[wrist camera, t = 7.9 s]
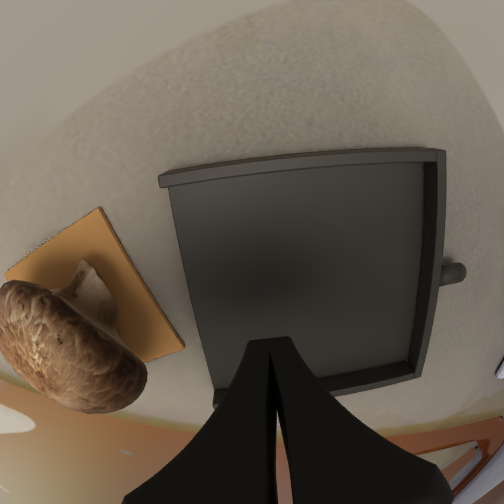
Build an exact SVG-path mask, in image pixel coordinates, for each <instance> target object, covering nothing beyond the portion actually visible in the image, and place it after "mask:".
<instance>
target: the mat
mask: <svg viewBox="0 0 504 504" xmlns="http://www.w3.org/2000/svg"><path fill="white" fill-rule="evenodd" d="M81 258H84V259H85V260H87V261H88V262H89V263H90V264H91V265H92V266H93V267H94V268H95V269H96V271H97V272H98V274H99V275H100V276H101V278H102V279H103V280H104V282H105V284H106V285H107V287H108V288H109V290H110V291H111V293H112V295H113V298H114V300H115V303H116V305H117V309H118V316H117V319H116V322H115V325H116V330H117V332H118V335H119V336H120V338H121V340H122V341H123V343H124V344H125V345H126V346H127V347H128V348H129V349H130V350H131V351H132V352H133V353H134V354H135V355H136V356H137V357H138V358H139V359H140V360H141V361H142V362H147V361H150V360H153V359H156V358H159V357H162V356H165V355H168V354H170V353H173V352H176V351H179V350H182V349H184V348H185V345H184V343H183V342H182V340H181V339H180V337H179V336H178V334H177V333H176V332H175V330H174V329H173V327H172V326H171V324H170V323H169V321H168V320H167V318H166V317H165V315H164V314H163V312H162V311H161V309H160V307H159V306H158V304H157V303H156V301H155V300H154V298H153V297H152V295H151V293H150V292H149V290H148V289H147V287H146V285H145V284H144V282H143V281H142V279H141V277H140V276H139V274H138V272H137V271H136V269H135V267H134V266H133V264H132V262H131V261H130V259H129V257H128V255H127V254H126V252H125V250H124V249H123V247H122V245H121V243H120V242H119V240H118V238H117V236H116V234H115V233H114V231H113V229H112V227H111V225H110V224H109V222H108V220H107V218H106V216H105V214H104V212H103V211H102V209H101V207H99V208H97V209H96V210H94V211H93V212H91V213H89V214H88V215H86V216H85V217H83V218H82V219H80V220H79V221H77V222H76V223H74V224H72V225H71V226H69V227H68V228H66V229H65V230H64V231H62V232H61V233H59V234H58V235H56V236H55V237H53V238H52V239H50V240H49V241H48V242H46V243H45V244H43V245H42V246H41V247H39V248H38V249H36V250H35V251H34V252H32V253H31V254H30V255H28V256H27V257H26V258H24V259H23V260H21V261H20V262H19V263H18V264H16V265H15V266H14V267H12V268H11V269H10V270H8V271H7V272H6V273H5V274H4V275H5V277H6V279H7V281H8V282H9V281H11V280H21V281H27V282H31V283H35V284H39V285H41V286H43V287H45V288H47V289H48V290H53V289H58V288H61V287H63V286H64V285H66V284H67V283H68V282H69V281H70V280H71V278H72V276H73V275H74V273H75V271H76V269H77V266H78V263H79V261H80V259H81Z"/></svg>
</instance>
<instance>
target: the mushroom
mask: <svg viewBox="0 0 504 504" xmlns="http://www.w3.org/2000/svg"><path fill="white" fill-rule="evenodd" d="M117 316H118V309H117V305H116V303H115V300H114V298H113V295H112V293H111V291H110V290H109V288H108V287H107V285H106V284H105V282H104V280H103V279H102V278H101V276H100V275H99V274H98V272H97V271H96V269H95V268H94V267H93V266H92V265H91V264H90V263H89V262H88V261H87V260H85V259H84V258H81V259H80V261H79V263H78V266H77V269H76V271H75V273H74V275H73V276H72V278H71V280H70V281H69V282H68V283H67V284H66V285H64V286H63V287H61V288H58V289H53V290H48V289H47V288H45V287H43V286H41V285H39V284H35V283H31V282H27V281H21V280H11V281H9V282H7V283H4V284H3V286H2V287H1V288H0V350H1V352H2V354H3V356H4V358H5V360H6V361H7V362H8V363H9V365H10V366H11V367H12V368H13V369H14V370H15V372H16V373H17V374H18V375H19V376H20V377H21V378H22V379H23V380H24V381H26V382H27V383H28V384H29V385H31V386H32V387H34V388H35V389H37V390H38V391H39V392H41V393H42V394H44V395H45V396H47V397H48V398H50V399H52V400H53V401H55V402H56V403H58V404H60V405H61V406H63V407H64V408H69V409H72V410H76V411H80V412H83V413H87V414H99V413H109V412H113V411H117V410H120V409H123V408H125V407H126V406H128V405H130V404H132V403H133V402H134V401H135V400H136V399H137V398H138V397H139V396H140V394H141V393H142V392H143V390H144V388H145V385H146V382H147V375H148V372H147V369H146V367H145V364H144V363H143V362H142V361H141V360H140V359H139V358H138V357H137V356H136V355H135V354H134V353H133V352H132V351H131V350H130V349H129V348H128V347H127V346H126V345H125V344H124V343H123V341H122V340H121V338H120V336H119V335H118V332H117V330H116V325H115V322H116V319H117Z"/></svg>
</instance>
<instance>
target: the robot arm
mask: <svg viewBox="0 0 504 504" xmlns="http://www.w3.org/2000/svg"><path fill="white" fill-rule="evenodd" d="M496 376H497V377H498V379H502V378H504V361H503V363H502V365H501V366H500V368H499V370H498V371H497V373H496ZM277 412H278V417H279V422H280V427H281V431H282V436H283V441H284V446H285V450H286V455H287V460H288V465H289V471H290V479H291V488H292V498H293V504H451V503H452V502H453V500H454V495H453V493H452V490H451V488H450V486H449V483H448V482H447V480H446V479H445V477H444V476H443V474H442V473H441V471H440V469H439V468H438V467H437V465H435V464H433V463H431V462H429V461H426V460H424V459H422V458H420V457H417V456H415V455H413V454H411V453H409V452H407V451H405V450H404V449H402V448H400V447H398V446H397V445H395V444H393V443H391V442H390V441H388V440H387V439H385V438H384V437H382V436H381V435H379V434H378V433H376V432H375V431H373V430H372V429H371V428H369V427H368V426H366V425H365V424H364V423H362V422H361V421H360V420H359V419H357V418H356V417H355V416H354V415H352V414H351V413H350V412H349V411H348V410H347V409H346V408H345V407H343V406H342V405H341V404H340V403H339V402H338V401H337V400H336V399H335V398H334V397H333V396H332V395H331V394H330V393H329V391H328V390H327V389H326V388H325V387H324V386H323V385H322V384H321V382H320V381H319V380H318V379H317V378H316V376H315V375H314V374H313V372H312V371H311V370H310V369H309V367H308V366H307V364H306V363H305V362H304V360H303V359H302V357H301V356H300V354H299V352H298V351H297V349H296V347H295V345H294V343H293V341H292V339H291V338H290V337H289V336H282V337H274V338H265V339H256V340H250V341H249V342H248V343H247V345H246V349H245V352H244V355H243V357H242V360H241V362H240V365H239V367H238V369H237V371H236V373H235V376H234V378H233V380H232V382H231V384H230V386H229V387H228V389H227V391H226V393H225V394H224V396H223V398H222V399H221V401H220V403H219V404H218V406H217V408H216V409H215V411H214V412H213V413H212V415H211V416H210V418H209V419H208V420H207V422H206V423H205V424H204V426H203V427H202V428H201V429H200V431H199V432H198V433H197V434H196V435H195V436H194V438H193V439H192V440H191V441H190V442H189V444H187V446H186V447H185V448H184V449H183V450H182V451H181V452H180V453H179V454H178V455H177V456H176V457H174V459H172V460H171V461H170V462H169V463H168V464H167V465H166V466H164V467H163V468H162V469H161V470H160V471H159V472H158V473H156V474H155V475H154V476H153V477H151V478H150V479H149V480H147V481H146V482H144V483H143V484H142V485H140V486H139V487H138V488H136V489H135V490H133V491H132V492H130V493H129V494H127V495H126V496H125V497H124V499H123V501H122V504H278V496H277V482H276V430H277Z"/></svg>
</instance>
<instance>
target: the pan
mask: <svg viewBox="0 0 504 504" xmlns="http://www.w3.org/2000/svg"><path fill="white" fill-rule="evenodd" d="M423 162H424V178H423ZM158 181H159V187H160V188H166V187H168V190H169V196H170V201H171V207H172V212H173V218H174V223H175V228H176V233H177V238H178V243H179V248H180V253H181V257H182V262H183V267H184V271H185V276H186V280H187V285H188V289H189V293H190V298H191V302H192V306H193V310H194V314H195V319H196V323H197V327H198V331H199V335H200V339H201V342H202V346H203V350H204V354H205V358H206V361H207V365H208V369H209V372H210V376H211V380H212V383H213V387H214V397H213V407H214V410H215V409H216V408H217V406H218V404H219V403H220V401H221V399H222V398H223V396H224V394H225V393H226V391H227V389H228V387H229V386H230V384H231V382H232V380H233V378H234V376H235V373H236V371H237V369H238V367H239V365H240V362H241V360H242V357H243V355H244V352H245V349H246V345H247V343H248V342H249V341H250V340H256V339H265V338H274V337H282V336H289V337H290V338H291V339H292V341H293V343H294V345H295V347H296V349H297V351H298V352H299V354H300V356H301V357H302V359H303V360H304V362H305V363H306V364H307V366H308V367H309V369H310V370H311V371H312V372H313V374H314V375H315V376H316V378H317V379H318V380H319V381H320V382H321V384H322V385H323V386H324V387H325V388H326V389H327V390H328V391H329V393H330V394H331V395H332V396H333V397H336V396H342V395H347V394H352V393H357V392H362V391H366V390H371V389H375V388H380V387H384V386H388V385H392V384H396V383H400V382H404V381H408V380H411V379H413V378H414V379H415V378H419V377H421V374H422V370H423V366H424V362H425V358H426V354H427V349H428V345H429V340H430V336H431V331H432V326H433V320H434V315H435V309H436V303H437V297H438V290H439V287H440V286H444V285H449V284H454V283H458V282H461V281H463V280H464V279H465V277H466V268H465V266H464V265H463V264H462V263H458V262H457V263H451V264H445V265H442V257H443V247H444V234H445V218H446V151H445V150H441V149H434V148H419V147H411V148H371V149H350V150H333V151H319V152H307V153H295V154H285V155H275V156H266V157H257V158H249V159H241V160H234V161H226V162H219V163H212V164H206V165H199V166H193V167H187V168H181V169H175V170H170V171H167V172H165V173H163V174H161V175H159V176H158ZM424 186H425V195H424ZM423 205H424V232H423ZM422 235H423V249H422ZM421 251H422V262H421ZM420 264H421V273H420ZM419 275H420V283H419ZM418 284H419V292H418ZM417 293H418V300H417ZM416 301H417V307H416ZM415 309H416V314H415ZM414 316H415V321H414ZM413 322H414V327H413ZM412 329H413V333H412ZM411 335H412V339H411ZM410 340H411V345H410ZM409 346H410V350H409ZM408 351H409V355H408ZM407 356H408V360H407Z"/></svg>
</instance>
